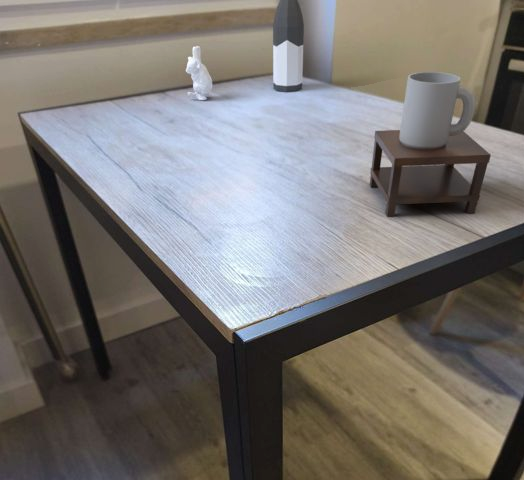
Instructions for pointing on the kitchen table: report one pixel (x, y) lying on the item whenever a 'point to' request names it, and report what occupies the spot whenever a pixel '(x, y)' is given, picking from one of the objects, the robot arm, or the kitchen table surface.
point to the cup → (433, 109)
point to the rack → (427, 171)
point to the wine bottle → (288, 46)
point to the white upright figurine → (199, 76)
